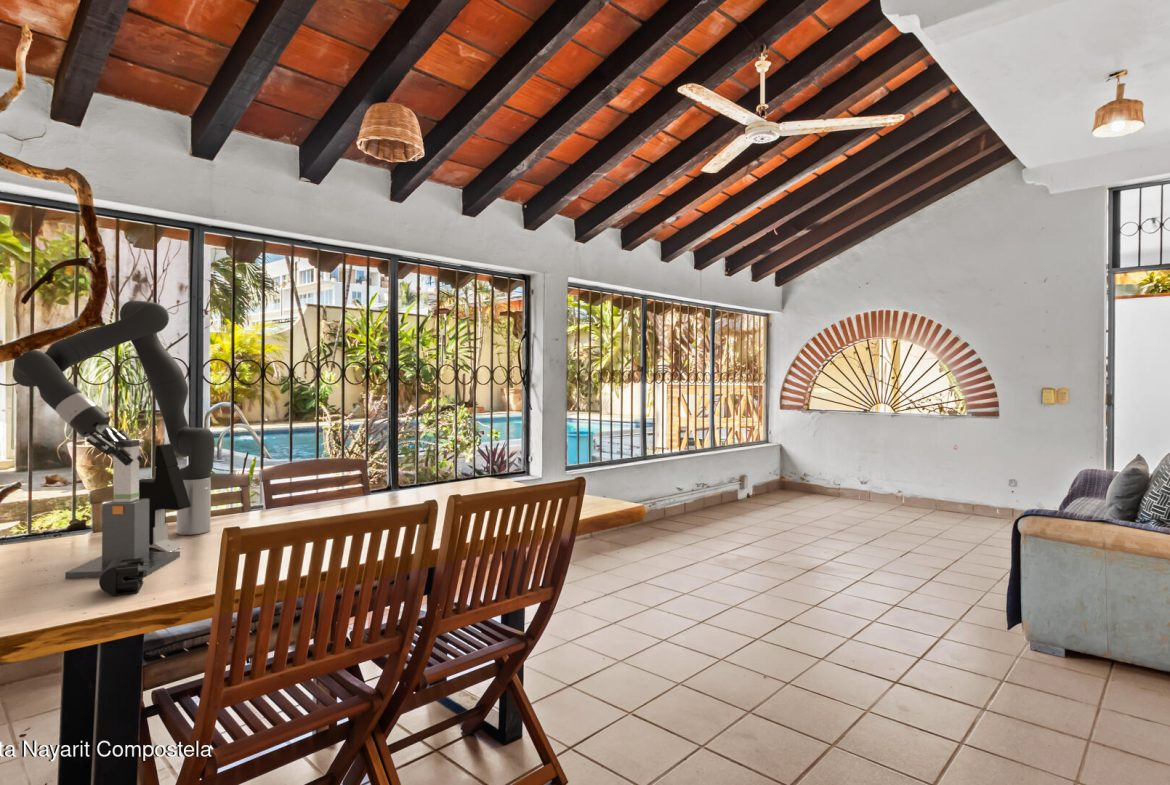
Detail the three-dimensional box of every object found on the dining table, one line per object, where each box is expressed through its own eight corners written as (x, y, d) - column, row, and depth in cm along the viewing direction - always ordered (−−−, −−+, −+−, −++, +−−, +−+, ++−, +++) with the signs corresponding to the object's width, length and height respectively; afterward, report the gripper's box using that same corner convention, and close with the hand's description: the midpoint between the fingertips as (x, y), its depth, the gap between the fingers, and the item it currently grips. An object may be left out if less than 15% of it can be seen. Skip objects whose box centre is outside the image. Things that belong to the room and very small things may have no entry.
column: (121, 535, 169) (122, 440, 169) (139, 535, 170) (139, 440, 170) (113, 539, 165) (113, 441, 165) (130, 539, 166) (131, 441, 166)
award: (191, 548, 187) (192, 444, 187) (178, 552, 182) (178, 445, 182) (142, 546, 189) (143, 443, 188) (128, 550, 184) (128, 444, 183)
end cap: (107, 586, 152) (107, 557, 152) (143, 582, 155) (144, 554, 155) (98, 599, 143) (98, 568, 143) (137, 594, 146) (137, 565, 146)
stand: (107, 558, 175) (107, 495, 175) (179, 556, 178) (180, 494, 178) (65, 578, 157) (65, 508, 157) (146, 576, 160) (146, 507, 160)
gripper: (77, 405, 159) (131, 454, 161) (110, 403, 173) (159, 448, 175) (53, 427, 158) (108, 476, 160) (88, 423, 172) (138, 468, 174)
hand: (134, 461), depth 168 cm, fingers closed on column, 4 cm apart
